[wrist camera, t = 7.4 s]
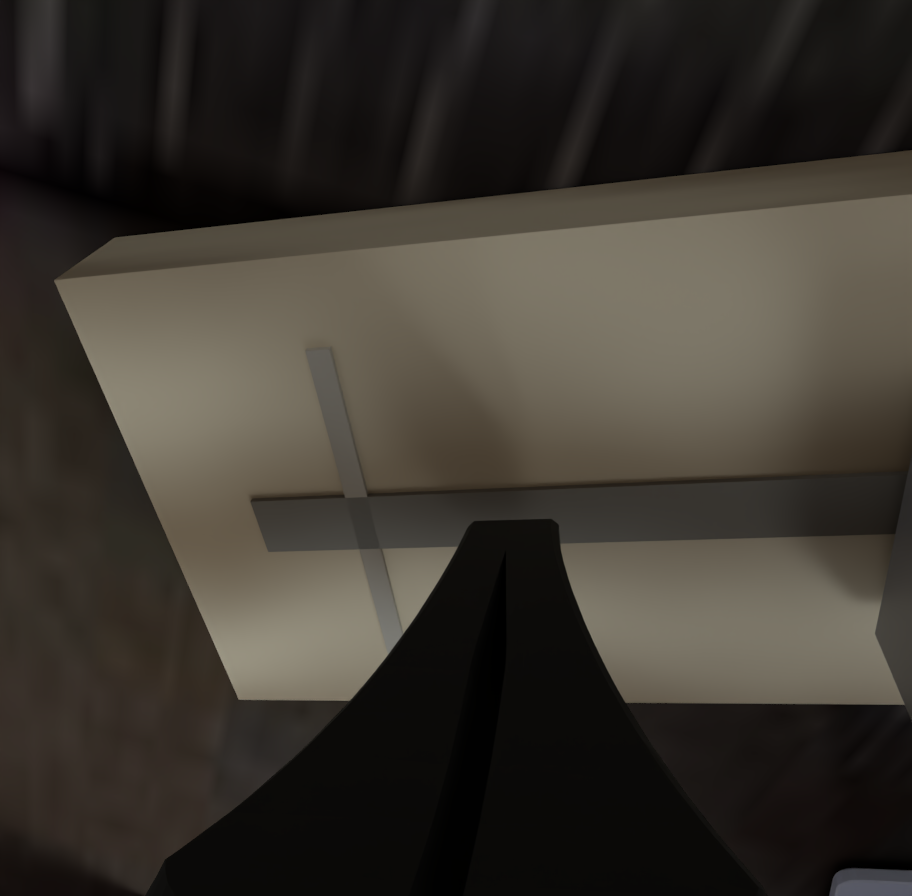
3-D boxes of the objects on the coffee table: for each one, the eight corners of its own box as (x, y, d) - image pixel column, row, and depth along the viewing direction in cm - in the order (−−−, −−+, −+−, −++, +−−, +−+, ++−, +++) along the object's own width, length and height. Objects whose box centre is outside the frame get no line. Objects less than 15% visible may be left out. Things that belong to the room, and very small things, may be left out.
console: (1204, 625, 16) (1282, 711, 14) (267, 633, 19) (237, 703, 18) (1485, 87, 10) (1668, 121, 9) (114, 237, 14) (50, 282, 12)
